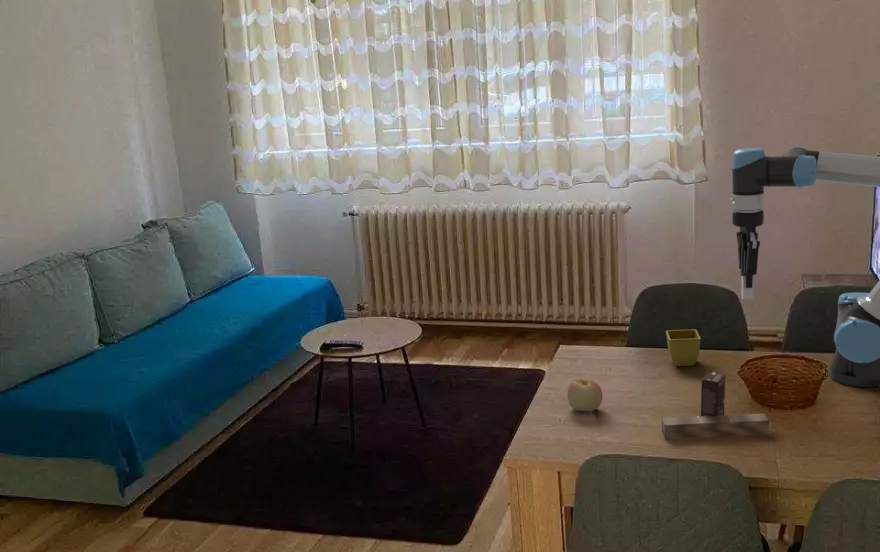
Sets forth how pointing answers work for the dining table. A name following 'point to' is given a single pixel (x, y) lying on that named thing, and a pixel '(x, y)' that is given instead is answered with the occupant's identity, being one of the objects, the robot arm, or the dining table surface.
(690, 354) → the flower pot
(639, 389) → the dining table surface
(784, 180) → the robot arm
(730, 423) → the grey long bar
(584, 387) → the apple
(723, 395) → the box
